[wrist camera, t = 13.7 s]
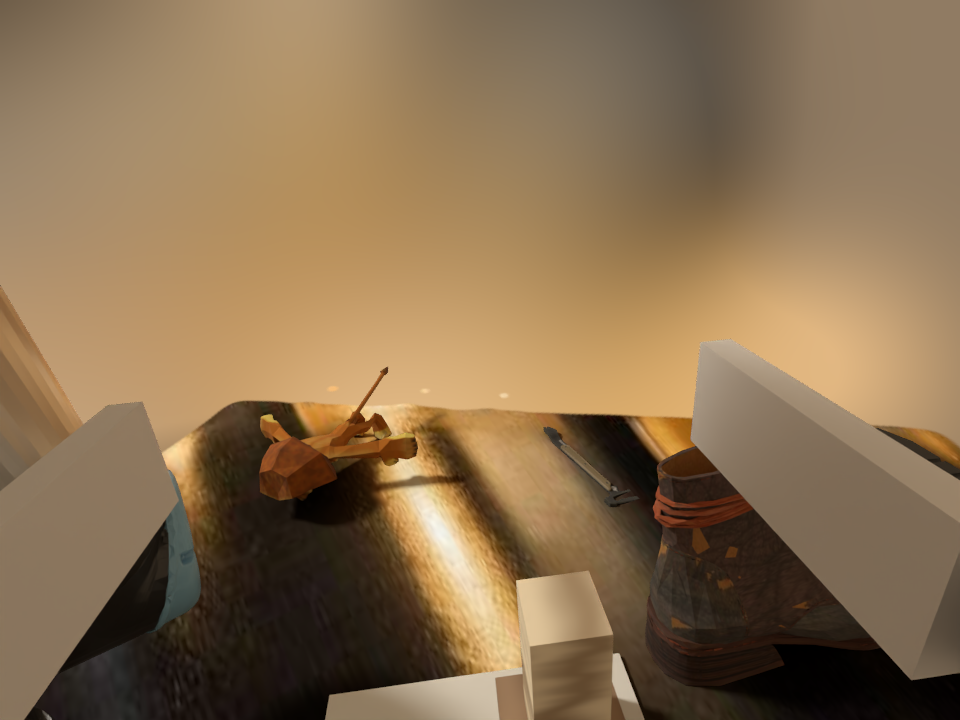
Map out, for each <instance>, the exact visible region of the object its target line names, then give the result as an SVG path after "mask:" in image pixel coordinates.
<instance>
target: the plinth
mask: <svg viewBox="0 0 960 720" xmlns="http://www.w3.org/2000/svg"><path fill="white" fill-rule="evenodd" d="M495 682H496V692H497V702H498V712H499V720H528V718H527V712H526V706H525V701H524V687H523V674H518V675H511V676H504V677H497V678H495ZM611 720H625V717H624V714H623V712H622V709H621V706H620V703H619V700H618V697H617V694H616V692H615V689H614V686H613V683H612V700H611Z"/></svg>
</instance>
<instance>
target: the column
mask: <svg viewBox="0 0 960 720" xmlns="http://www.w3.org/2000/svg"><path fill="white" fill-rule="evenodd" d="M516 585H517V600H518V614H519V629H520V643H521V658H522V673H523V687H524V701H525V706H526V712H527V718H528V720H611V700H612V664H613V632H612V630H611V627H610V625H609V622H608V619H607V617H606V614H605V612H604V609H603V607H602V604H601V601H600V599H599V596H598V594H597V591H596V588H595V586H594V583H593V581H592V578H591V576H590V573H589V571H584V572H576V573H569V574H561V575H554V576H547V577H539V578H532V579H524V580H517V581H516Z"/></svg>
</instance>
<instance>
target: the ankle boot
mask: <svg viewBox="0 0 960 720" xmlns="http://www.w3.org/2000/svg"><path fill="white" fill-rule="evenodd" d="M657 469H658V478H659V486H658V489H657V492H656V498H657V499H656V501H655V504H654V506H653V509H654V513H655V519H656V520H658V521H659V522H660V523H661V524H662V526H663V533H662V537H661V539H662V540H661V548H660V552H659V555H658V559H657V563H656V566H655V570H654V573H653V576H652V579H651V581H650V596H649V597H648V602H647V613H648V614H647V623H646V632H645V634H646V645H647V648H648V650H649V652H650V654H651V656H652V658H653V660H654V661H655V663H656V664H657V665H658V666H659V668H660V669H661V670H662V671H663V672H664V674H666V675H668V676H670V677H671V678H673V679H675V680H677V681H679V682H681V683H683V684H684V685H686V686H721V685H725V684H728V683H731V682H734V681H737V680H740V679H743V678H746V677H749V676H752V675H755V674H758V673H761V672H764V671H768V670H771V669H774V668H777V667H780V666H783V665H785V664H784V663H783V660H782V658H781V657H780V655H779V653H778V652H777V650H776V649H775V647H774V646H773V645H772V644H803V645H819V646H827V647H834V648H841V649H850V650H872V649H877V648H881V647H880V646H879V645H878V643H877V642H876V641H875V640H874V639H873V638H872V637H871V636H870V635H869V634H868V633H867V631H866V630H865V629H864V628H863V627H862V626H861V625H860V624H859V623H858V622H857V621H856V619H855V618H854V617H853V616H852V615H851V614H850V613H849V612H848V611H847V610H846V609H845V607H844V606H843V605H842V604H841V603H840V602H839V601H838V600H837V599H836V598H835V597H834V595H833V594H832V593H831V592H830V591H829V590H828V589H827V588H826V587H825V586H824V585H823V583H822V582H821V581H820V580H819V579H818V578H817V577H816V576H815V575H814V574H813V573H812V571H811V570H810V569H809V568H808V567H807V566H806V565H805V564H804V563H803V562H802V561H801V559H800V558H799V557H798V556H797V555H796V554H795V553H794V552H793V551H792V550H791V549H790V547H789V546H788V545H787V544H786V543H785V542H784V541H783V540H782V539H781V538H780V537H779V535H778V534H777V533H776V532H775V531H774V530H773V529H772V528H771V527H770V526H769V525H768V523H767V522H766V521H765V520H764V519H763V518H762V517H761V516H760V515H759V514H758V513H757V512H756V510H755V509H754V508H753V507H752V506H751V505H750V504H749V503H748V502H747V501H746V500H745V498H744V497H743V496H742V495H741V494H740V493H739V492H738V491H737V490H736V489H735V488H734V486H733V485H732V484H731V483H730V482H729V481H728V480H727V479H726V478H725V477H724V476H723V474H722V473H721V472H720V471H719V470H718V469H717V468H716V467H715V466H714V465H713V464H712V462H711V461H710V460H709V459H708V458H707V457H706V456H705V455H704V454H703V453H702V452H701V450H700V449H699V448H698V447H697V446H695V447H692V448H689V449H686V450H682V451H680V452H678V453H676V454H674V455H672V456H670V457H668V458H666V459H664V460H663V461H662V462H660V464H659V465H658V466H657ZM657 469H656V470H657ZM661 514H662V515H661ZM651 623H652V625H651ZM652 626H653V627H652ZM666 642H667V643H668V644H669V645H670V646H669V645H668V644H667V643H666ZM732 652H733V653H732ZM726 653H727V654H726ZM721 654H722V655H721ZM697 656H698V657H697ZM705 656H706V657H705Z"/></svg>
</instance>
